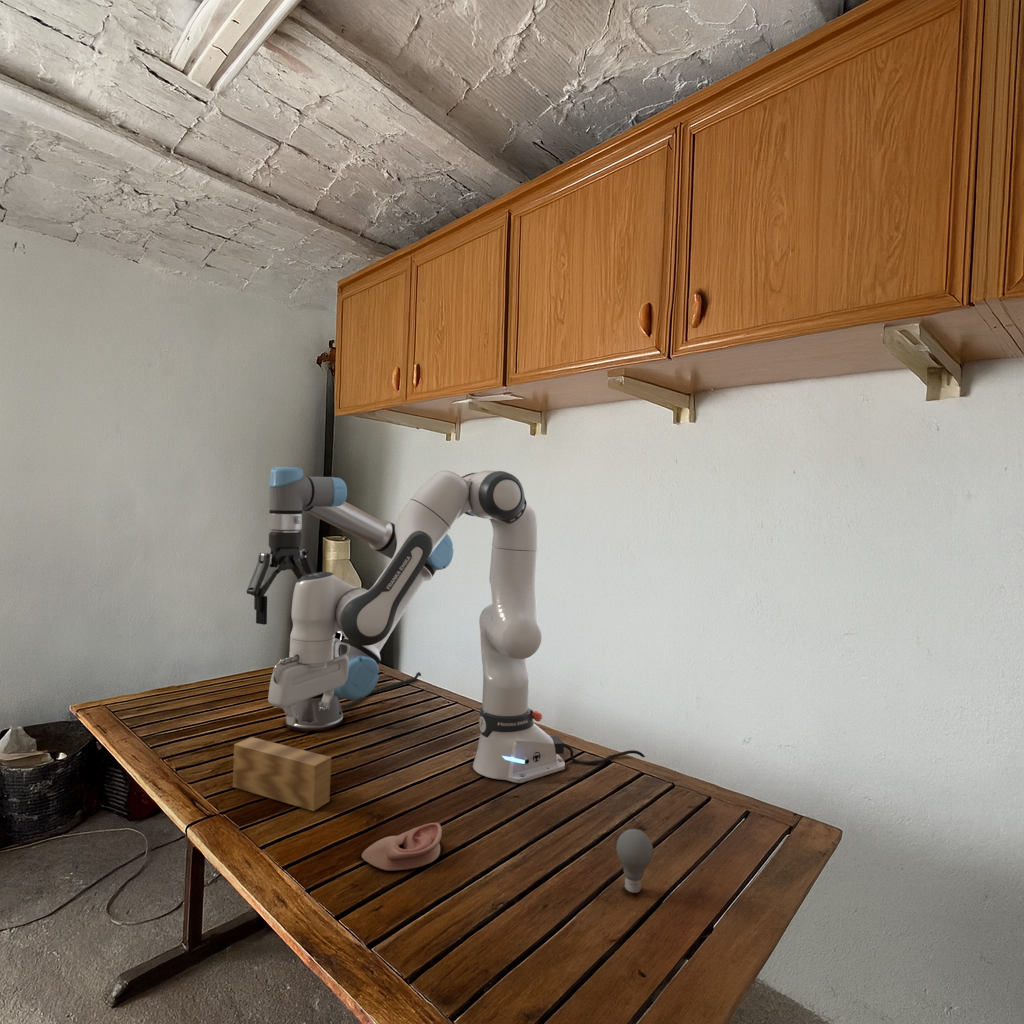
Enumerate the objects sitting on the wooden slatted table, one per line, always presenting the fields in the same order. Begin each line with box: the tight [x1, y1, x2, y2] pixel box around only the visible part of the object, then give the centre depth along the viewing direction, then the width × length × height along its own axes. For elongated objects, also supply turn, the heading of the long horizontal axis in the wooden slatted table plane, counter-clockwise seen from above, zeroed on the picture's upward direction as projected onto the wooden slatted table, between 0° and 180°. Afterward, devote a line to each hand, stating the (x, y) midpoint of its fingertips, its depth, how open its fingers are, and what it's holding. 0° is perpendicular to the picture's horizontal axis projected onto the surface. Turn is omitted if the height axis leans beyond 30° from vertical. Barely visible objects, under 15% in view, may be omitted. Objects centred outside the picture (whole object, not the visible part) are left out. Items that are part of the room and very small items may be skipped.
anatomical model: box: [361, 822, 443, 872], centre depth 114 cm, size 13×4×12 cm
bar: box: [232, 736, 332, 812], centre depth 134 cm, size 22×5×9 cm, turn 66°
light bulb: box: [615, 828, 654, 894], centre depth 106 cm, size 6×6×10 cm
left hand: (284, 618), depth 153 cm, fingers open, 13 cm apart
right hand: (308, 717), depth 131 cm, fingers open, 8 cm apart
